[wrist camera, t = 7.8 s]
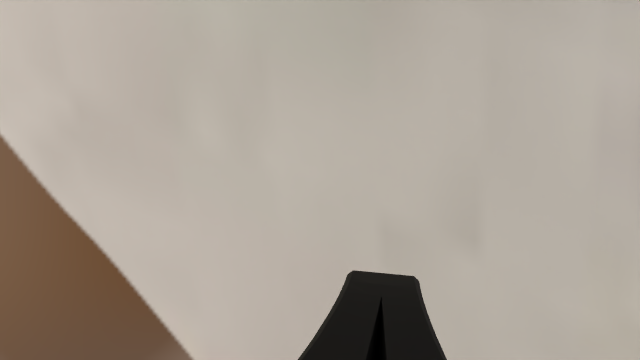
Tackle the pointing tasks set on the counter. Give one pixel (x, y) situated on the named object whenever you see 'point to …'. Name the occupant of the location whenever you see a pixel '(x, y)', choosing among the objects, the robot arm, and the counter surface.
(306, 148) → the counter surface
